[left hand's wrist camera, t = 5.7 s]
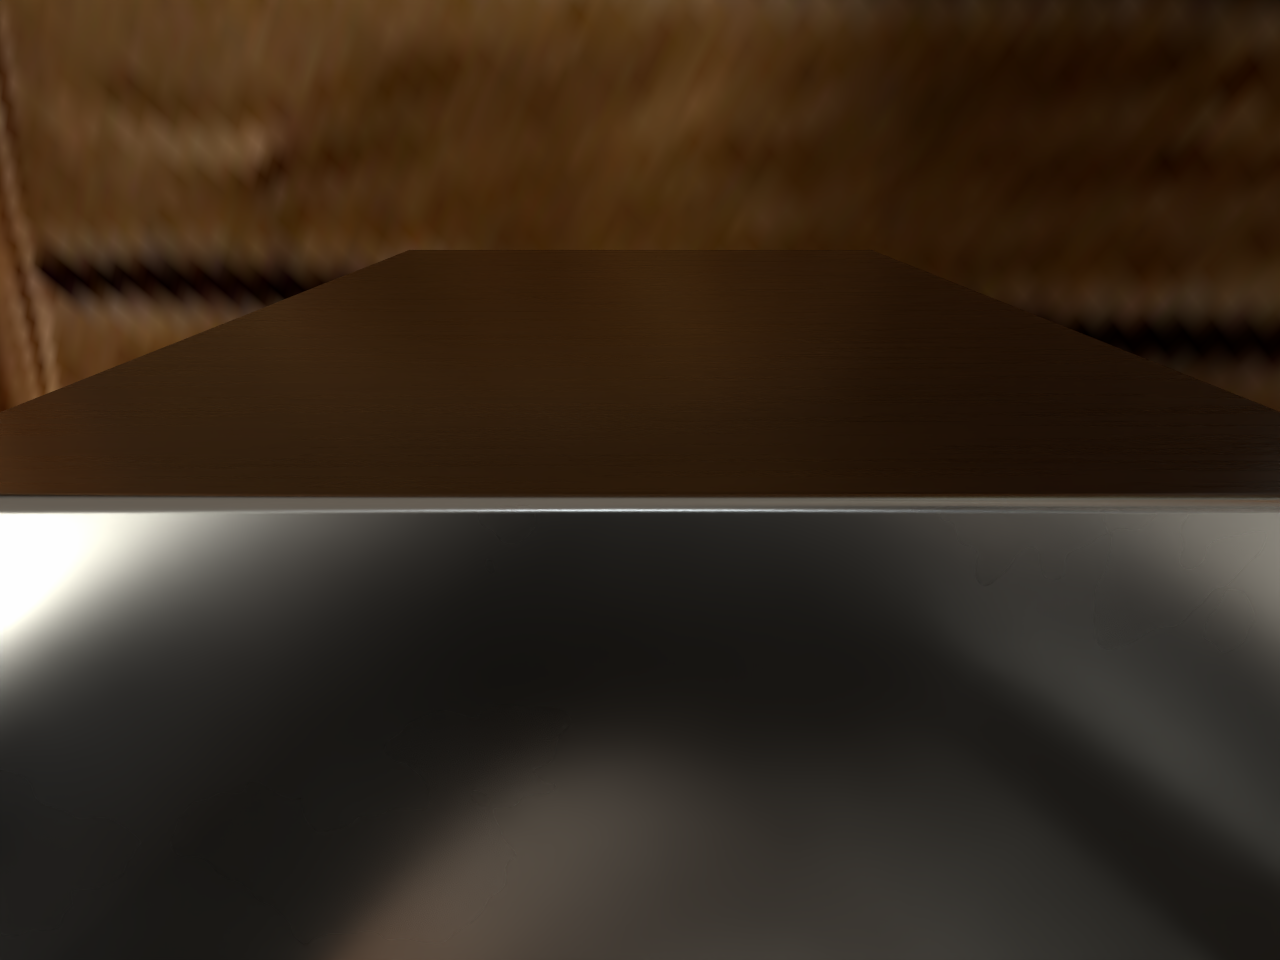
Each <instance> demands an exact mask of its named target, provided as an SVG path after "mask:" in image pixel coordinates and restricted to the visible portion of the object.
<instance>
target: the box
mask: <svg viewBox="0 0 1280 960" xmlns="http://www.w3.org/2000/svg"><path fill="white" fill-rule="evenodd" d="M0 960H1280V412H1278V411H1276V410H1273V409H1271V408H1268V407H1266V406H1263V405H1261V404H1258V403H1256V402H1253V401H1251V400H1248V399H1245V398H1243V397H1240V396H1238V395H1235V394H1233V393H1230V392H1228V391H1225V390H1223V389H1220V388H1218V387H1215V386H1213V385H1210V384H1208V383H1205V382H1203V381H1200V380H1198V379H1195V378H1193V377H1190V376H1187V375H1185V374H1182V373H1180V372H1177V371H1175V370H1172V369H1170V368H1167V367H1165V366H1162V365H1160V364H1157V363H1155V362H1152V361H1150V360H1147V359H1145V358H1142V357H1140V356H1137V355H1135V354H1132V353H1129V352H1127V351H1124V350H1122V349H1119V348H1117V347H1114V346H1112V345H1109V344H1107V343H1104V342H1102V341H1099V340H1097V339H1094V338H1092V337H1089V336H1087V335H1084V334H1082V333H1079V332H1076V331H1074V330H1071V329H1069V328H1066V327H1064V326H1061V325H1059V324H1056V323H1054V322H1051V321H1049V320H1046V319H1044V318H1041V317H1039V316H1036V315H1034V314H1031V313H1029V312H1026V311H1024V310H1021V309H1018V308H1016V307H1013V306H1011V305H1008V304H1006V303H1003V302H1001V301H998V300H996V299H993V298H991V297H988V296H986V295H983V294H981V293H978V292H976V291H973V290H971V289H968V288H966V287H963V286H960V285H958V284H955V283H953V282H950V281H948V280H945V279H943V278H940V277H938V276H935V275H933V274H930V273H928V272H925V271H923V270H920V269H918V268H915V267H913V266H910V265H907V264H905V263H902V262H900V261H897V260H895V259H892V258H890V257H887V256H885V255H882V254H880V253H877V252H875V251H872V250H408V251H406V252H403V253H401V254H398V255H396V256H393V257H391V258H388V259H386V260H383V261H381V262H378V263H375V264H373V265H370V266H368V267H365V268H363V269H360V270H358V271H355V272H353V273H350V274H348V275H345V276H343V277H340V278H338V279H335V280H333V281H330V282H328V283H325V284H323V285H320V286H318V287H315V288H312V289H310V290H307V291H305V292H302V293H300V294H297V295H295V296H292V297H290V298H287V299H285V300H282V301H280V302H277V303H275V304H272V305H270V306H267V307H265V308H262V309H260V310H257V311H255V312H252V313H250V314H247V315H244V316H242V317H239V318H237V319H234V320H232V321H229V322H227V323H224V324H222V325H219V326H217V327H214V328H212V329H209V330H207V331H204V332H202V333H199V334H197V335H194V336H192V337H189V338H187V339H184V340H181V341H179V342H176V343H174V344H171V345H169V346H166V347H164V348H161V349H159V350H156V351H154V352H151V353H149V354H146V355H144V356H141V357H139V358H136V359H134V360H131V361H129V362H126V363H124V364H121V365H118V366H116V367H113V368H111V369H108V370H106V371H103V372H101V373H98V374H96V375H93V376H91V377H88V378H86V379H83V380H81V381H78V382H76V383H73V384H71V385H68V386H66V387H63V388H61V389H58V390H55V391H53V392H50V393H48V394H45V395H43V396H40V397H38V398H35V399H33V400H30V401H28V402H25V403H23V404H20V405H18V406H15V407H13V408H10V409H8V410H5V411H3V412H0Z"/></svg>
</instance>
